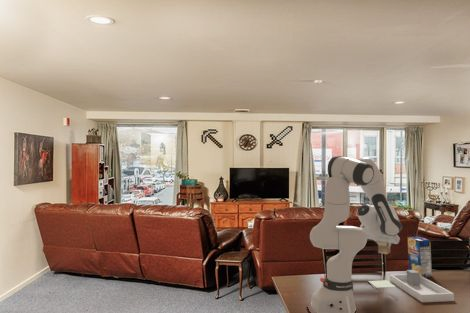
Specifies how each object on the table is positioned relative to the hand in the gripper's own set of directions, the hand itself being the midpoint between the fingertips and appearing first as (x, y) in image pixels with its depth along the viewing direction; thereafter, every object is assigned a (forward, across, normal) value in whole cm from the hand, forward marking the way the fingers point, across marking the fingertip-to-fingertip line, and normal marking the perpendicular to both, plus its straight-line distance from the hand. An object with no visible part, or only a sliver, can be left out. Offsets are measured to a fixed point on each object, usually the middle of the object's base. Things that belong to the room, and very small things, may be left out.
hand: (384, 243), depth 179 cm
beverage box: (+39, -5, -6) cm, 39 cm away
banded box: (+3, 0, +4) cm, 5 cm away
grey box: (+23, -10, +8) cm, 27 cm away
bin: (+19, -16, +13) cm, 28 cm away
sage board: (+16, +2, +17) cm, 23 cm away
